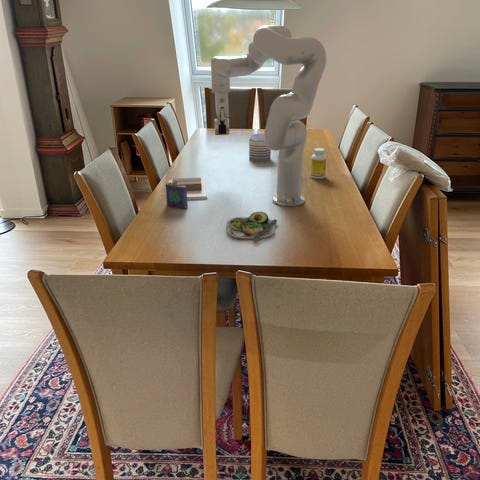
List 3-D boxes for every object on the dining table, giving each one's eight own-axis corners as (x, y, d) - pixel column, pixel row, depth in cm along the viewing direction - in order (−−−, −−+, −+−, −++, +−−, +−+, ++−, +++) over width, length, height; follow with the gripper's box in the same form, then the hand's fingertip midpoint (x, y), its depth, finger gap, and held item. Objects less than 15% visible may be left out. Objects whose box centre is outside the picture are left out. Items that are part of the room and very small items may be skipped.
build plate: (207, 198, 187) (207, 196, 187) (167, 200, 186) (167, 197, 185) (205, 181, 207) (205, 178, 206) (169, 182, 205) (168, 180, 205)
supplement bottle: (324, 179, 208) (326, 151, 202) (309, 178, 209) (311, 150, 203) (325, 175, 214) (327, 147, 208) (310, 174, 215) (312, 147, 209)
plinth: (201, 190, 193) (201, 183, 191) (172, 191, 192) (172, 184, 190) (201, 184, 200) (200, 177, 198) (173, 185, 199) (172, 178, 197)
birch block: (229, 134, 198) (229, 120, 196) (215, 135, 198) (214, 120, 195) (228, 132, 202) (228, 118, 200) (214, 132, 202) (214, 118, 199)
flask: (189, 207, 179) (187, 181, 174) (184, 210, 177) (183, 183, 172) (169, 203, 183) (167, 177, 178) (165, 206, 180) (162, 179, 176)
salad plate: (280, 245, 150) (280, 232, 148) (225, 245, 150) (224, 232, 148) (276, 221, 168) (277, 209, 166) (227, 221, 168) (227, 209, 166)
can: (271, 156, 242) (272, 133, 236) (270, 163, 231) (271, 139, 226) (249, 156, 243) (249, 133, 237) (247, 162, 233) (247, 138, 227)
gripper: (231, 91, 185) (232, 137, 193) (228, 85, 200) (229, 128, 208) (212, 91, 184) (214, 137, 192) (210, 86, 199) (212, 128, 207)
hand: (222, 132), depth 200 cm, fingers closed on birch block, 4 cm apart
